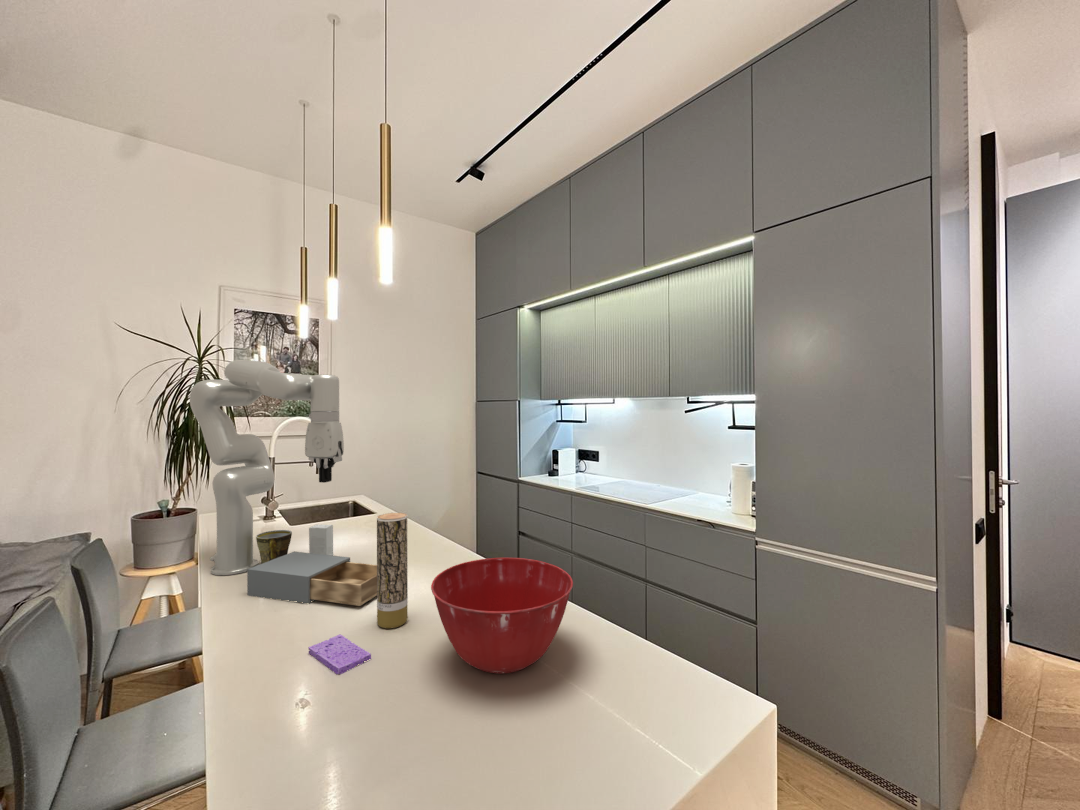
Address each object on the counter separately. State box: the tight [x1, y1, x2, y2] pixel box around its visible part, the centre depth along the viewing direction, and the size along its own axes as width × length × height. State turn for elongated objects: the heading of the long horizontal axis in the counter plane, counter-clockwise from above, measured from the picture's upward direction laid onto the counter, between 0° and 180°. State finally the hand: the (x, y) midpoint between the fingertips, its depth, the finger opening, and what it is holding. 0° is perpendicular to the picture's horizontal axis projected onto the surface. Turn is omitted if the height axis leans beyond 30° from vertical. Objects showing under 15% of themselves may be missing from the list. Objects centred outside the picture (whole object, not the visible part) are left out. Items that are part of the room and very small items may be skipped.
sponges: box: [308, 634, 372, 675], centre depth 95 cm, size 7×13×2 cm, turn 51°
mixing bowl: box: [430, 557, 574, 675], centre depth 95 cm, size 28×28×16 cm
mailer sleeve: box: [246, 551, 351, 604], centre depth 130 cm, size 20×16×7 cm
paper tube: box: [376, 512, 409, 629], centre depth 109 cm, size 7×7×25 cm
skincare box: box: [308, 524, 334, 556], centre depth 151 cm, size 6×4×12 cm
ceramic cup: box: [255, 529, 293, 564], centre depth 148 cm, size 13×10×10 cm
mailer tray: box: [310, 561, 377, 607], centre depth 126 cm, size 19×14×5 cm
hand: (325, 481), depth 134 cm, fingers closed
